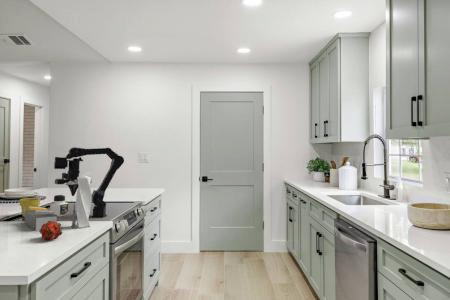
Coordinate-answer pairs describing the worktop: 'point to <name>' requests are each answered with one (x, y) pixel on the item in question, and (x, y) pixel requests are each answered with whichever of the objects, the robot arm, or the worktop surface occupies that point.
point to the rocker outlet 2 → (44, 212)
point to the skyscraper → (82, 203)
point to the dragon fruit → (51, 230)
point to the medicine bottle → (59, 205)
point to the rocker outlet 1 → (37, 208)
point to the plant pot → (28, 204)
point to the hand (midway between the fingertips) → (72, 196)
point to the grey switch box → (38, 219)
